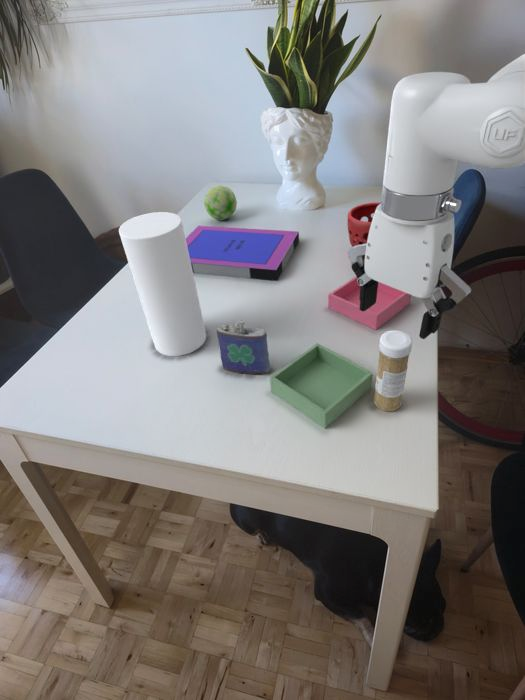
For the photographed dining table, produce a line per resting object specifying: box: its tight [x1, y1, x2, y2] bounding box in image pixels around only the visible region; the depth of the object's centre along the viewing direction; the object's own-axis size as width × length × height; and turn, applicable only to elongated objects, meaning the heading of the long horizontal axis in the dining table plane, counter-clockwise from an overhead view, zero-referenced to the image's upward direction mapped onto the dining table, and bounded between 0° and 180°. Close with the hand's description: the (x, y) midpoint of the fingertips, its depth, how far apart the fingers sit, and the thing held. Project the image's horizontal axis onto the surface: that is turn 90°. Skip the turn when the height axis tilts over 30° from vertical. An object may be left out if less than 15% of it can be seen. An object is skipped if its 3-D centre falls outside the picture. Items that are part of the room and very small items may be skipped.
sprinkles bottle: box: [373, 329, 413, 412], centre depth 67 cm, size 5×5×13 cm
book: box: [185, 225, 300, 282], centre depth 115 cm, size 21×3×30 cm
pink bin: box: [327, 275, 412, 331], centre depth 92 cm, size 12×12×4 cm
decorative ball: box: [203, 185, 238, 221], centre depth 133 cm, size 10×10×10 cm
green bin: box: [269, 342, 374, 429], centre depth 74 cm, size 12×12×4 cm
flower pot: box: [347, 201, 381, 262], centre depth 106 cm, size 13×13×12 cm
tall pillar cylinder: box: [118, 211, 207, 357], centre depth 82 cm, size 11×11×25 cm
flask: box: [216, 319, 271, 376], centre depth 78 cm, size 9×3×11 cm, turn 74°
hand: (396, 319), depth 61 cm, fingers open, 9 cm apart
